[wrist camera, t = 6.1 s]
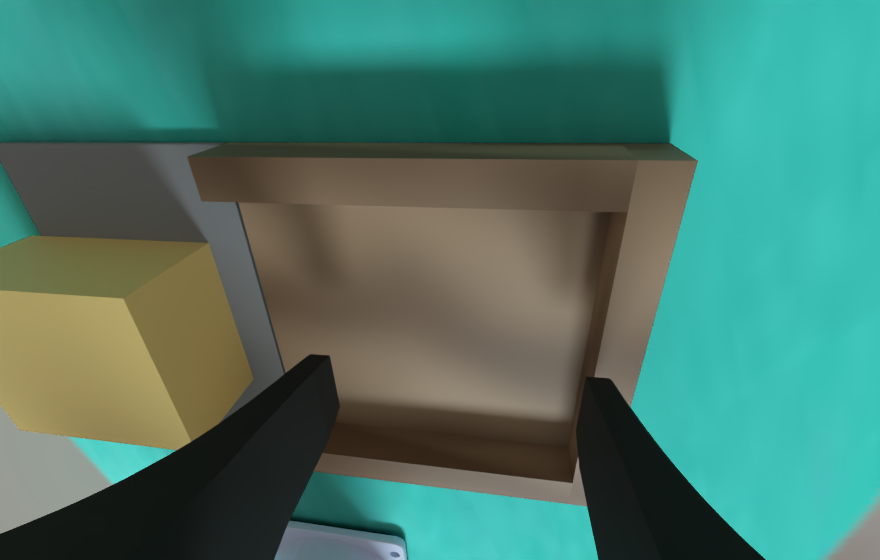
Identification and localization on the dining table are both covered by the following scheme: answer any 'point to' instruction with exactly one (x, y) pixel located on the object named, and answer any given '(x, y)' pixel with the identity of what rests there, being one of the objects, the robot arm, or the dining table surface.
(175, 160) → the mat
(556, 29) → the dining table surface
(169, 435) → the block
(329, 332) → the brown wooden tray
